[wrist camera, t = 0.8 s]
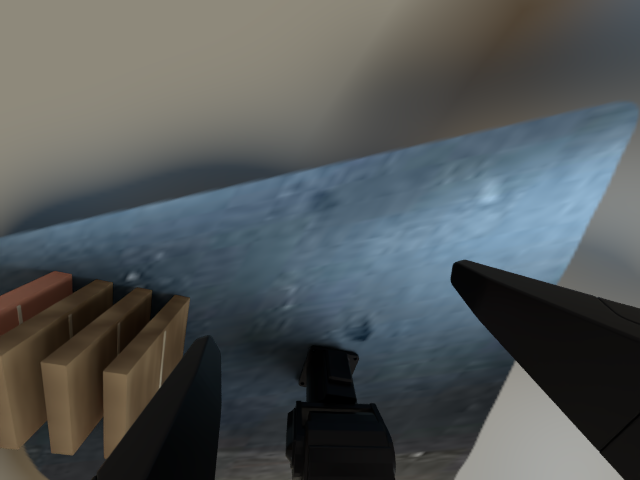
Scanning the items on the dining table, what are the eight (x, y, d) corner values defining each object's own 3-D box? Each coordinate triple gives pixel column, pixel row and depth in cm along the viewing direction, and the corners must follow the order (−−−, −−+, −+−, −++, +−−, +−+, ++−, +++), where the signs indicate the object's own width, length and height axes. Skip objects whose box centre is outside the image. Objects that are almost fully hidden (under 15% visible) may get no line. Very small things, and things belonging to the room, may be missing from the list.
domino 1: (72, 274, 25) (-69, 345, 16) (76, 347, 28) (-39, 444, 19) (54, 270, 25) (-100, 341, 15) (60, 345, 28) (-65, 441, 18)
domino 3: (152, 290, 26) (66, 366, 17) (148, 358, 29) (73, 455, 20) (136, 287, 26) (39, 362, 17) (133, 356, 29) (50, 453, 20)
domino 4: (190, 297, 27) (127, 374, 17) (182, 364, 30) (125, 460, 20) (174, 294, 26) (102, 371, 17) (167, 361, 30) (103, 458, 20)
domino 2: (113, 282, 26) (1, 356, 16) (113, 353, 29) (18, 449, 19) (96, 279, 25) (-28, 352, 16) (97, 350, 28) (-6, 447, 19)
